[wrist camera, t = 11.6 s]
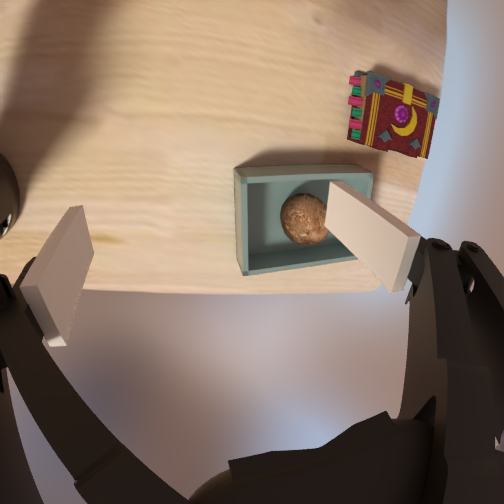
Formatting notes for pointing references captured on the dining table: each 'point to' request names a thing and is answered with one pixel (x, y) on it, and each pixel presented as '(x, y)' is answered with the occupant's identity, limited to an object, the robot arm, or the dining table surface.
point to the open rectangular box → (269, 207)
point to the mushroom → (304, 219)
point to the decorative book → (391, 115)
